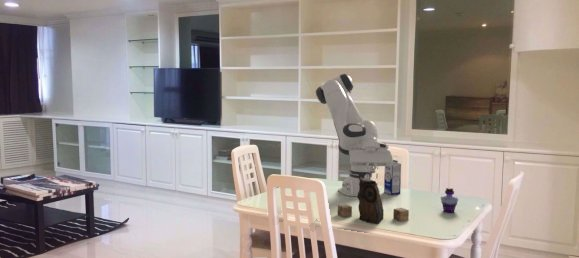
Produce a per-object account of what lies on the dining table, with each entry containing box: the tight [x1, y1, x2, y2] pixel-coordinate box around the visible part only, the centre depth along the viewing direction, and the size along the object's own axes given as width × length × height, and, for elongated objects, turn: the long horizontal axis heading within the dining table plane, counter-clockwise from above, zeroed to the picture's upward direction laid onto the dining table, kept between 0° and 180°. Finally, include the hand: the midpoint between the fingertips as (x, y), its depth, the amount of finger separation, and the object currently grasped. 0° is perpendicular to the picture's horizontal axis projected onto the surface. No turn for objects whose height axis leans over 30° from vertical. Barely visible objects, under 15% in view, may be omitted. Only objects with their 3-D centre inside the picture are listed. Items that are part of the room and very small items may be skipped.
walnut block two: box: [392, 207, 410, 222], centre depth 219 cm, size 5×5×5 cm
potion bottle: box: [440, 187, 459, 214], centre depth 233 cm, size 9×9×12 cm
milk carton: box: [383, 159, 402, 196], centre depth 271 cm, size 7×7×20 cm
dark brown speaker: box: [356, 177, 385, 225], centre depth 218 cm, size 13×13×20 cm
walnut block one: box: [337, 203, 353, 219], centre depth 225 cm, size 5×5×5 cm
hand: (372, 172), depth 217 cm, fingers closed
